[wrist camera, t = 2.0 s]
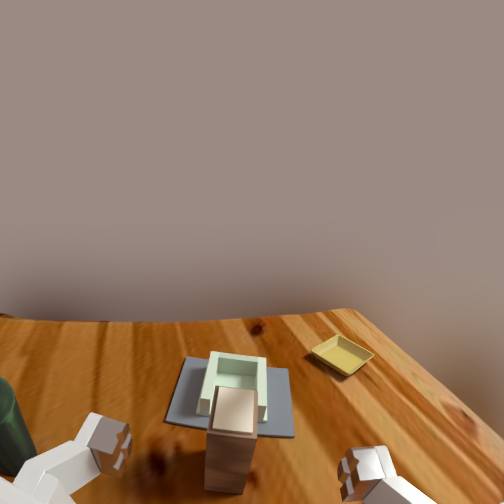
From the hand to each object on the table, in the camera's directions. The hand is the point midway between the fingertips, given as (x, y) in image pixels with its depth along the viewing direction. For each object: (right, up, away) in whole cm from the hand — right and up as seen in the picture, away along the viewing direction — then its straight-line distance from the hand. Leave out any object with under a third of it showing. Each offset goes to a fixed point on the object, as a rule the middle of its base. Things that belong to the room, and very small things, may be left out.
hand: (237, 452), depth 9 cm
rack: (-2, -12, +30) cm, 33 cm away
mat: (-2, -13, +31) cm, 33 cm away
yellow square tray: (+16, -12, +41) cm, 46 cm away
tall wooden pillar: (-2, -17, +18) cm, 25 cm away
